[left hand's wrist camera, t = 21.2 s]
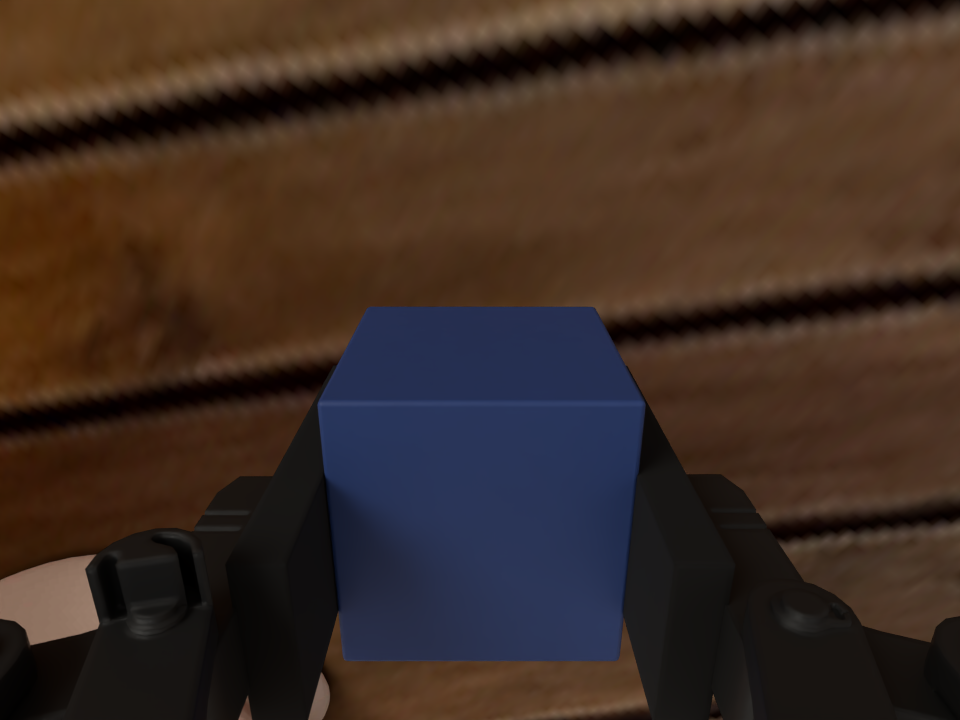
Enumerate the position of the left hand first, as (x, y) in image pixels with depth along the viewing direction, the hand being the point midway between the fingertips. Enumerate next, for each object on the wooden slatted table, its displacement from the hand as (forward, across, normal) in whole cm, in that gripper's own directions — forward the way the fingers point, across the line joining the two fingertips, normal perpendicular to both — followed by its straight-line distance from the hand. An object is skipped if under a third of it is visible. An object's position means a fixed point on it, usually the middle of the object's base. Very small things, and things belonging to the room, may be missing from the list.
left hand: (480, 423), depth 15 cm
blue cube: (0, 0, 0) cm, 0 cm away
